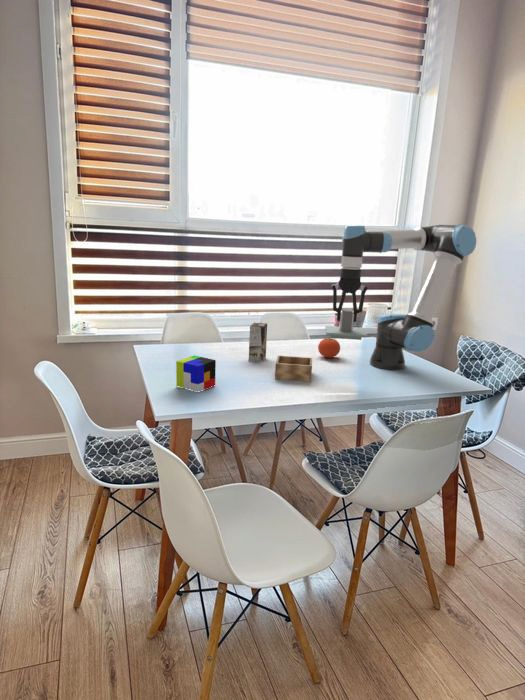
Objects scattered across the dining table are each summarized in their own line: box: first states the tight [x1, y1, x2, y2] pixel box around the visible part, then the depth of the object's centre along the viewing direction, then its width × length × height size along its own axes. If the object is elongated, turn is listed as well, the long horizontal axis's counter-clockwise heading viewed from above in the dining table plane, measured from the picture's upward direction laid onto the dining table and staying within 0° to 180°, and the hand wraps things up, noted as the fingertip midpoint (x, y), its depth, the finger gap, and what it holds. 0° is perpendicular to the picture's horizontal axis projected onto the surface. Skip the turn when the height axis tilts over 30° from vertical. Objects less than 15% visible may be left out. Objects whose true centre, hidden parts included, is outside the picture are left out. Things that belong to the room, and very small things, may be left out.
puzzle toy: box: [175, 354, 217, 392], centre depth 171 cm, size 10×10×10 cm
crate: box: [274, 355, 313, 383], centre depth 186 cm, size 14×12×7 cm
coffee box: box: [248, 322, 268, 363], centre depth 208 cm, size 9×6×16 cm
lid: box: [324, 307, 368, 341], centre depth 179 cm, size 15×13×10 cm
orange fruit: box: [317, 337, 341, 359], centre depth 217 cm, size 10×10×10 cm
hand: (345, 329), depth 180 cm, fingers closed on lid, 3 cm apart
